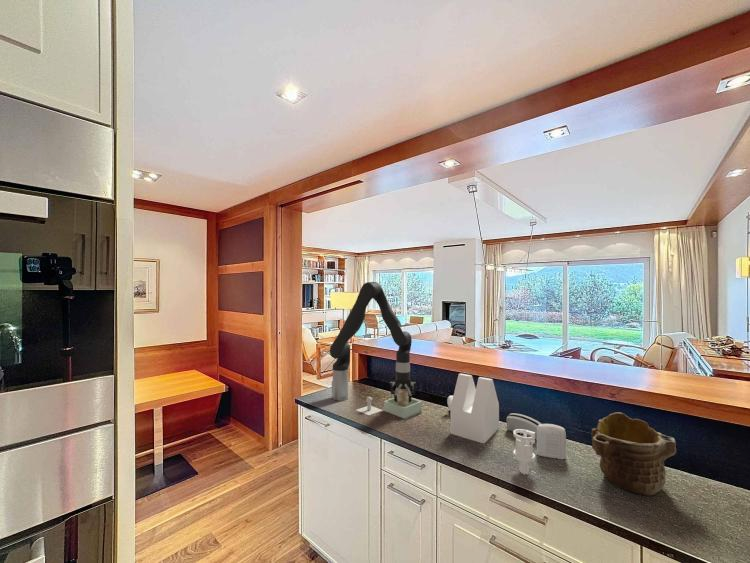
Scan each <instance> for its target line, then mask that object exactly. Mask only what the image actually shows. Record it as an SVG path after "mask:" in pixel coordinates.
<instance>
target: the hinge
mask: <svg viewBox="0 0 750 563" xmlns="http://www.w3.org/2000/svg"><path fill="white" fill-rule="evenodd" d="M539 424H542V422H540V421H539V420H537V419H535V418H533V417H530V416H527V415H524V414H521V413H509V414H508V415H507V417H506V430H507V429H508V431H510V430H511V432H513V431H514V430H516V429H524V430H529V431H532V432H535V439H537V428H538V425H539ZM521 434H523V435H522V436H524V433H520V434H519V435H521ZM527 436H528V437H532V436H531V435H529V434H527Z"/></svg>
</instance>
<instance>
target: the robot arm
mask: <svg viewBox="0 0 750 563" xmlns="http://www.w3.org/2000/svg"><path fill="white" fill-rule="evenodd" d="M372 300H374V301H375V302H376V303H377V305H378V308H379V311H380V314H381V317H382V320H383V322H384V323H385V325H386V327H387V329H388V330H389V331H390V335H391V338H392V341H393V342H394V343H395V344H396V345H397V346H399V347H398V349H397V351H396V354H395V357H396V358H395V359H396V361H395V380H394V381H390V382H389V387H390V395H393V398H394V401H396V403H397V396H398V389H408V397H409V403H410V402H411V398H412V397H413V396H414V395H416V389H417V388H416V387H417V383H416V381H412V380H411V363H410V360H411V356H410V355H411V353H410V352H411V347H412V343H413V342H412V340H413V339H412V335H411V334H410V332H408V331H403V329H402V324H401V321H400V320H399V318H398V316H397V315H396V314H395V311H393V309H392V307H391V305H390V303H389V301H388V299H387V296H386V294H385V292H384V289H383V287H382V285H381V284H380V283H379V282H377V281H368V282H365V283H363V285H362V286H361V287H360V290H359V293H358V296H357V298H356V300H355V303H354V304H353V306H352V307H351V310H350V312H349V314H348V315H347V317H346V319H345V322H344V324H343V325H342V327H341V329H340V331H339V333H338V334H337V336H336V338H334V340H333V342H332V344H331V345H330V347H329V355H330V356H331V358H333V359H336V360H335V362H334V363H333V364H332V381H331V398H332V400H334V401H338V402H340V401H342V402H343V401H346V400H348V399H349V365H350V363H351V346H350V344H349V343H348V342H349V341H350V340H351V339H352V337H354V336H355V335H356V334H357V332H359V330H361V327H362V325H363V324H364V321H365V317H366V310H367V306H368V305H369V304H370V302H371V301H372ZM395 386H396V388H395V390H394V387H395ZM410 386H412V391H411V389H410Z"/></svg>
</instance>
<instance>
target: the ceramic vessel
mask: <svg viewBox="0 0 750 563" xmlns="http://www.w3.org/2000/svg"><path fill="white" fill-rule="evenodd" d="M597 422H598V423H597V425H596V428H591V440H592V441H591V449H593V450H594V452H595V454H596V455H597V456H600V459H599V468H600V470H601V473H602V474H604V476H605V477H606V478H607V480H608V481H610V482H611V484H613V485H614V486H616V487H618V488H621V489H622V490H625V491H628V492H630V493H637V494H641V495H643V496H654V495H656V494H657V493H659V492H661V491H662V489H663V488H664V486H665V485H666V467H665V463H664V461H666V460H667V459H668V458H670V457H673V456H675V455H676V453H677V448H676V446H677V445H676V443H677V442H676V439H675V438H674V437H672V436H667V435H665V434H662V433H661V432H658V431H656V430H655V429H654V428H652V427H650V425H649V423H648V422H647V421H644V420H642V419H639V418H634V419H633V418H630V417H629V416H628V415H626V414H625V413H623V412H620V411H619V412H618V411H617V412H613V413H610V414H609V415H607V416H605V417H603V418H602V419H601V418H600V419H599V420H598V421H597Z"/></svg>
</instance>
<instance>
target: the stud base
mask: <svg viewBox="0 0 750 563" xmlns="http://www.w3.org/2000/svg"><path fill="white" fill-rule="evenodd" d="M365 400H366V402H367V403H366V404H367V405H366V406H364V407H360V408H357V409H356V411H357V412H360V413H362V414H365V415H367V416H371V415H375V414H377V413H379V412H382V411H383V409H380V408H378V407H376V406H373V405H372V401H373V397H371V396H367V397H366V399H365Z"/></svg>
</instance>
